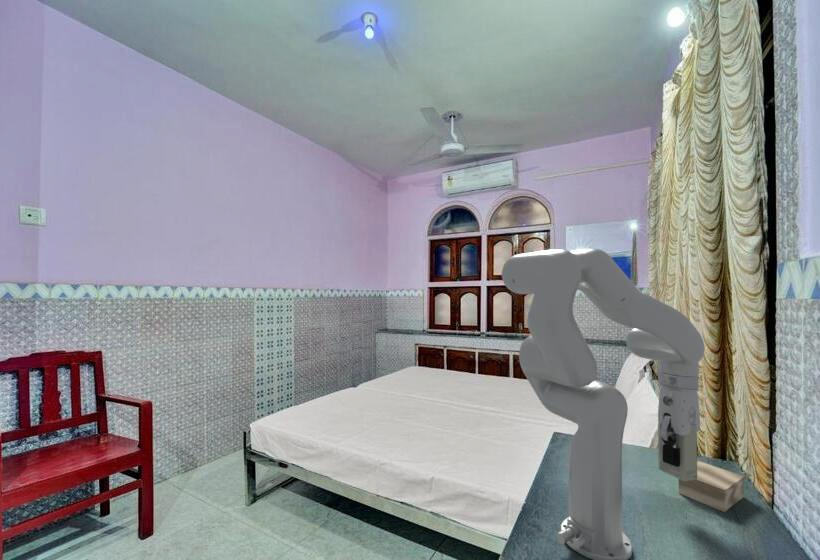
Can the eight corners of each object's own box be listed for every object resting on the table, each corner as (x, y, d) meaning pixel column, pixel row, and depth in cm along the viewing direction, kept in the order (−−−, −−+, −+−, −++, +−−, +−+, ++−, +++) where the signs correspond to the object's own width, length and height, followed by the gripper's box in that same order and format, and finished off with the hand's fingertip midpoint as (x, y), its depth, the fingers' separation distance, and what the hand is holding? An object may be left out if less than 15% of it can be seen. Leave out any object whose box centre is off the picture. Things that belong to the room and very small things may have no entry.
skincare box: (698, 480, 81) (698, 424, 81) (684, 482, 79) (685, 425, 80) (669, 467, 87) (670, 415, 87) (656, 469, 85) (657, 416, 86)
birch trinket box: (725, 512, 82) (724, 490, 82) (677, 493, 90) (677, 472, 90) (745, 497, 89) (744, 476, 89) (698, 480, 97) (698, 460, 97)
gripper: (679, 388, 76) (678, 477, 75) (713, 382, 85) (712, 461, 84) (641, 380, 83) (640, 462, 82) (676, 375, 92) (675, 449, 91)
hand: (677, 460), depth 83 cm, fingers closed on skincare box, 5 cm apart
